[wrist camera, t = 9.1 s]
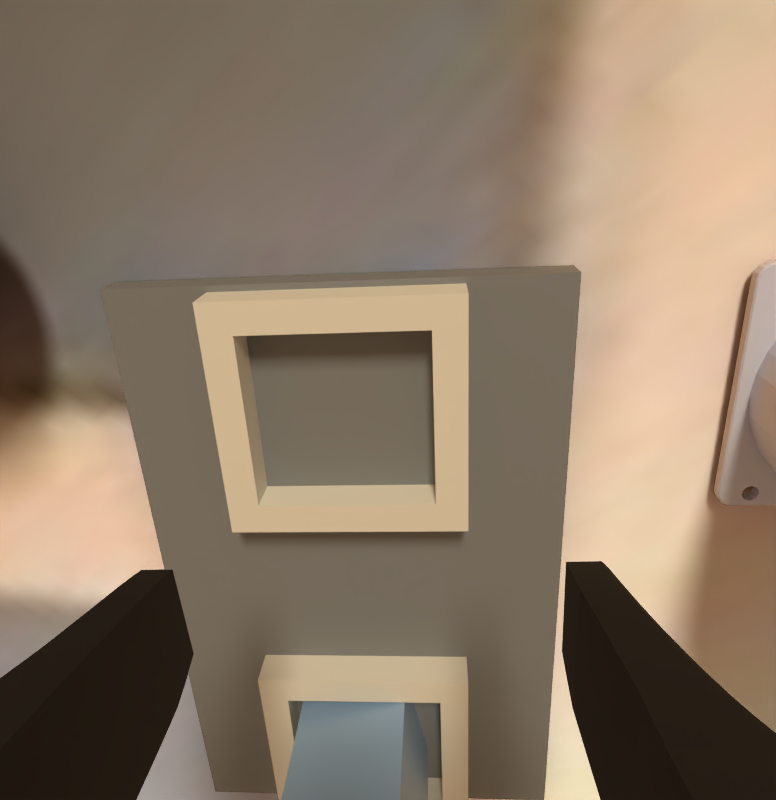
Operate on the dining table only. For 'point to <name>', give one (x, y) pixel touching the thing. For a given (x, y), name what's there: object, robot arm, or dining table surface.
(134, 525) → the dining table surface
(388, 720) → the plug
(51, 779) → the robot arm
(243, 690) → the panel
